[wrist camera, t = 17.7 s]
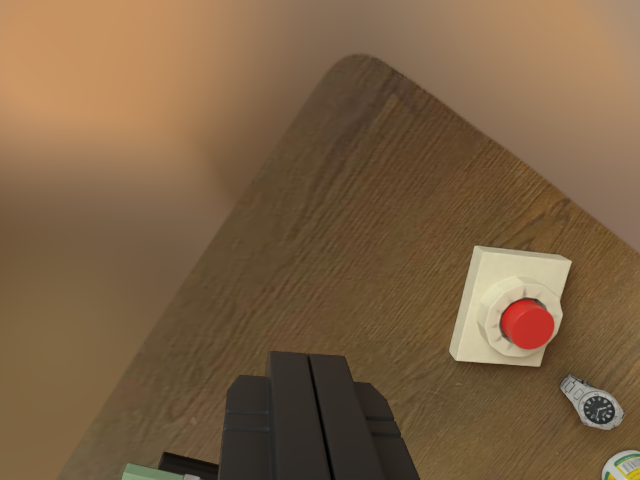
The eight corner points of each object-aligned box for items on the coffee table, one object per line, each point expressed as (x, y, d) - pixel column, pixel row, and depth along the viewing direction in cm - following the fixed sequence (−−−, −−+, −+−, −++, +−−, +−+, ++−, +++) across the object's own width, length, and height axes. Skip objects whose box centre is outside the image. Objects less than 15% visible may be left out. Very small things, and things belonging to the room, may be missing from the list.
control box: (474, 245, 41) (493, 258, 38) (560, 254, 43) (586, 268, 39) (448, 351, 44) (464, 372, 41) (529, 357, 45) (551, 378, 42)
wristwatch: (567, 361, 46) (603, 392, 41) (612, 388, 48) (652, 421, 43) (544, 390, 47) (577, 424, 42) (589, 416, 48) (626, 451, 44)
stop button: (507, 297, 40) (518, 306, 38) (547, 301, 40) (560, 310, 38) (496, 337, 41) (506, 348, 39) (536, 341, 41) (547, 351, 39)
